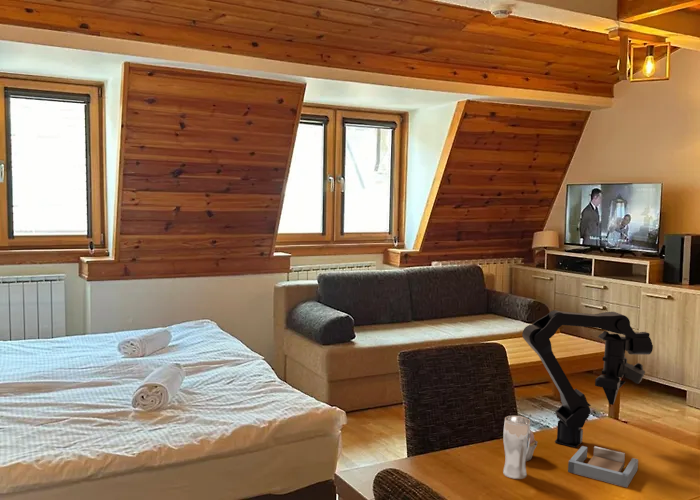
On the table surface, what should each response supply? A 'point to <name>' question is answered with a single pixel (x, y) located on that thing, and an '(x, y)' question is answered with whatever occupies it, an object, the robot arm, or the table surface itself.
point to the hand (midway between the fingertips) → (611, 404)
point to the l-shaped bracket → (607, 459)
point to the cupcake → (531, 446)
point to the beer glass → (516, 446)
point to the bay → (601, 470)
